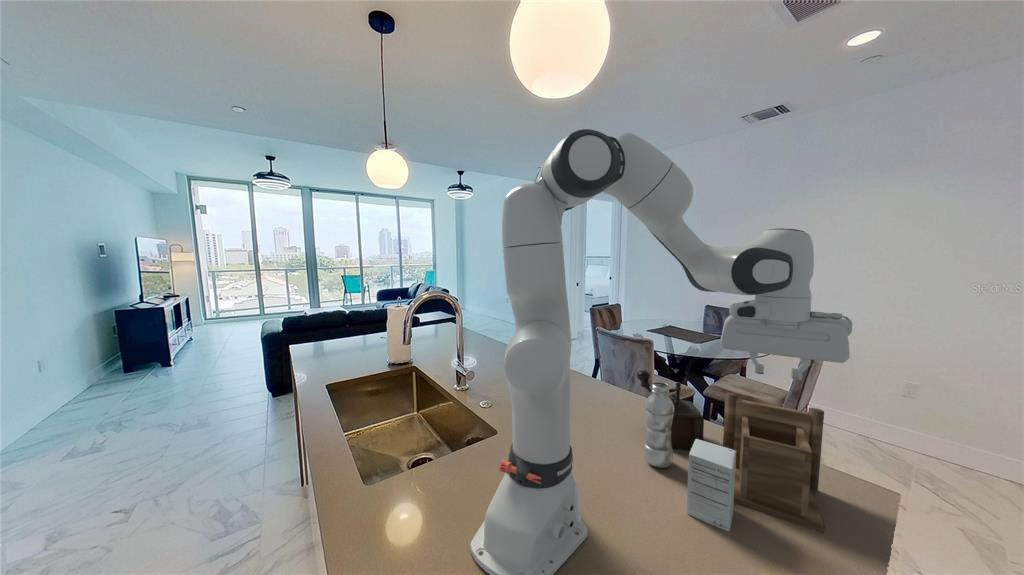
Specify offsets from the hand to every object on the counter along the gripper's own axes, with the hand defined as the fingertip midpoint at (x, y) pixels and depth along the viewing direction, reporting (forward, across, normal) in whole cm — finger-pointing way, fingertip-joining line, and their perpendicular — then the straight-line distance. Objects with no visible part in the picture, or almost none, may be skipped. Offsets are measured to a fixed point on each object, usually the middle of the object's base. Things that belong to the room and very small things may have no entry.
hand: (777, 375), depth 68 cm
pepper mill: (+26, +22, -12) cm, 36 cm away
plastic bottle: (+26, +22, +2) cm, 34 cm away
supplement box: (+26, +10, +13) cm, 31 cm away
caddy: (+26, 0, 0) cm, 26 cm away
